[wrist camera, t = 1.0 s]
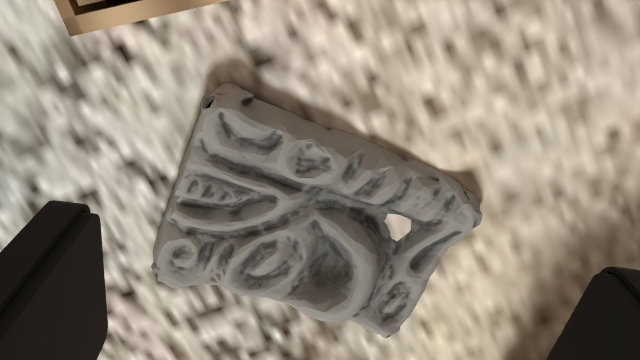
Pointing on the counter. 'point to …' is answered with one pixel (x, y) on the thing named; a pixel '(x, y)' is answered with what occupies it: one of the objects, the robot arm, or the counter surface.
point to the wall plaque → (305, 215)
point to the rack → (118, 12)
